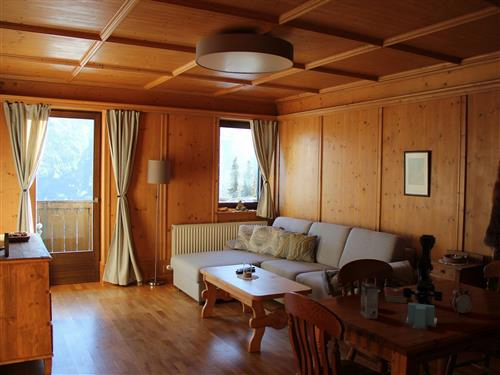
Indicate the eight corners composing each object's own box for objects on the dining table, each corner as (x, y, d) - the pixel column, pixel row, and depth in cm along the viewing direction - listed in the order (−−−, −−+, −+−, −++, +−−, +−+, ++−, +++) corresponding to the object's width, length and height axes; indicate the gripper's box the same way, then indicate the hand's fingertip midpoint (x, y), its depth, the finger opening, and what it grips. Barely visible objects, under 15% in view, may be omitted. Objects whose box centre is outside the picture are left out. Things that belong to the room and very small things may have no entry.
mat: (408, 315, 244) (408, 314, 244) (437, 318, 239) (437, 318, 239) (404, 326, 225) (404, 326, 225) (435, 331, 220) (435, 330, 220)
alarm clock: (455, 315, 245) (456, 287, 245) (449, 312, 250) (450, 284, 249) (473, 314, 248) (473, 286, 248) (466, 311, 253) (467, 283, 252)
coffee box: (359, 313, 246) (360, 282, 246) (371, 313, 247) (372, 282, 246) (365, 318, 237) (366, 287, 237) (378, 318, 238) (378, 287, 237)
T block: (408, 320, 234) (408, 302, 234) (434, 323, 230) (434, 305, 229) (406, 325, 226) (407, 307, 226) (433, 329, 221) (433, 310, 221)
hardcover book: (385, 302, 269) (385, 295, 269) (384, 293, 290) (384, 286, 290) (407, 304, 266) (407, 296, 266) (404, 295, 287) (404, 288, 287)
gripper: (403, 271, 240) (400, 298, 230) (443, 275, 233) (441, 302, 223) (404, 283, 248) (402, 309, 238) (443, 287, 240) (441, 314, 230)
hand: (421, 309), depth 232 cm, fingers closed
